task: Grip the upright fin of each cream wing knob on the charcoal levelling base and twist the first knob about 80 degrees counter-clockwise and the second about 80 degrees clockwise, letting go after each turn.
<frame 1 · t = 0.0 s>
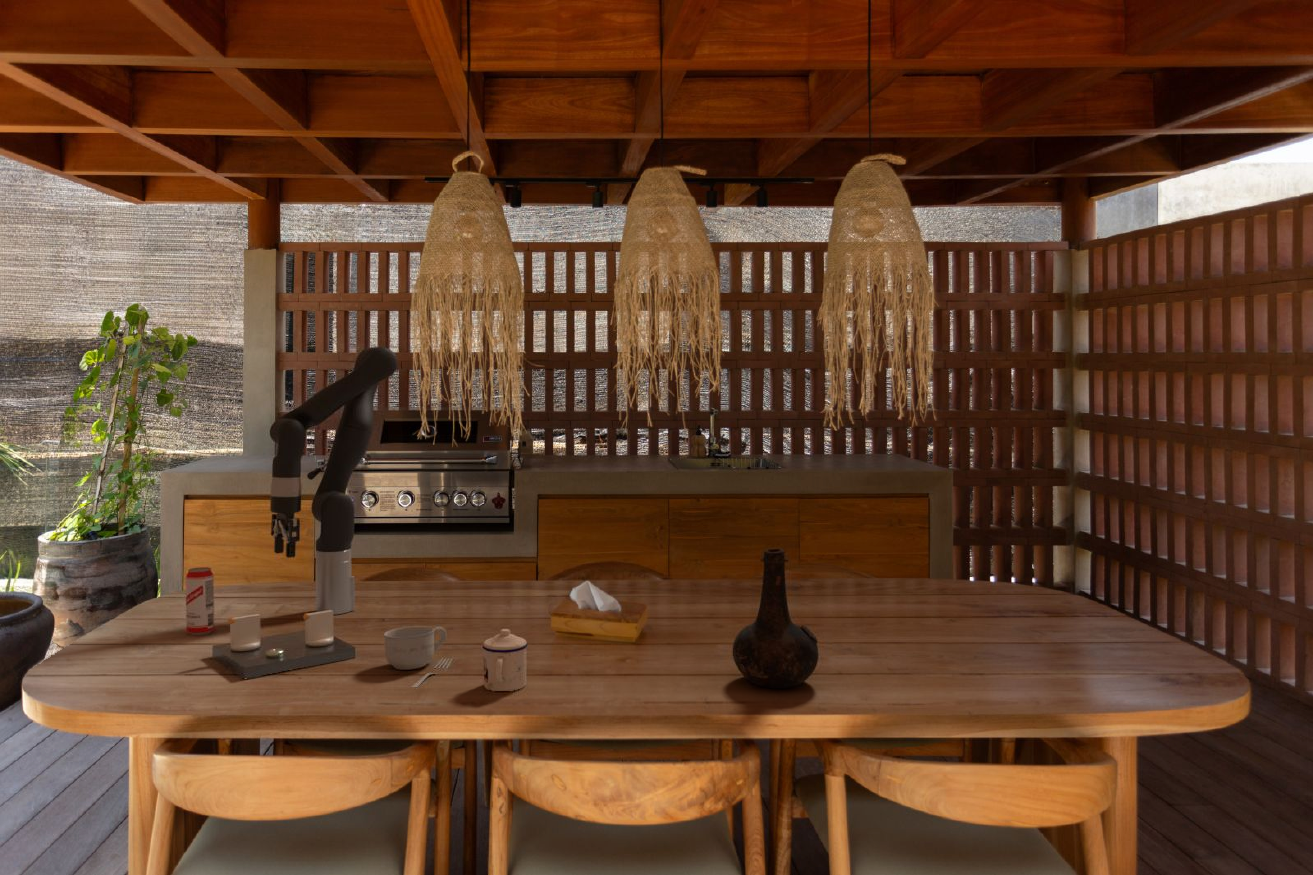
hand: (284, 555, 237), 17 cm above the table, tool pointing down, fingers open, 8 cm apart
levelling base: (283, 657, 203), on the table
glass bottle: (774, 683, 188), on the table
knob 1: (318, 627, 205), point 6 cm above the table, hinge at 0.0°
knob 2: (243, 631, 201), point 6 cm above the table, hinge at 0.0°
fork: (423, 683, 187), on the table
teacup with lid: (503, 689, 183), on the table
beer can: (200, 633, 224), on the table
teacup: (416, 666, 198), on the table
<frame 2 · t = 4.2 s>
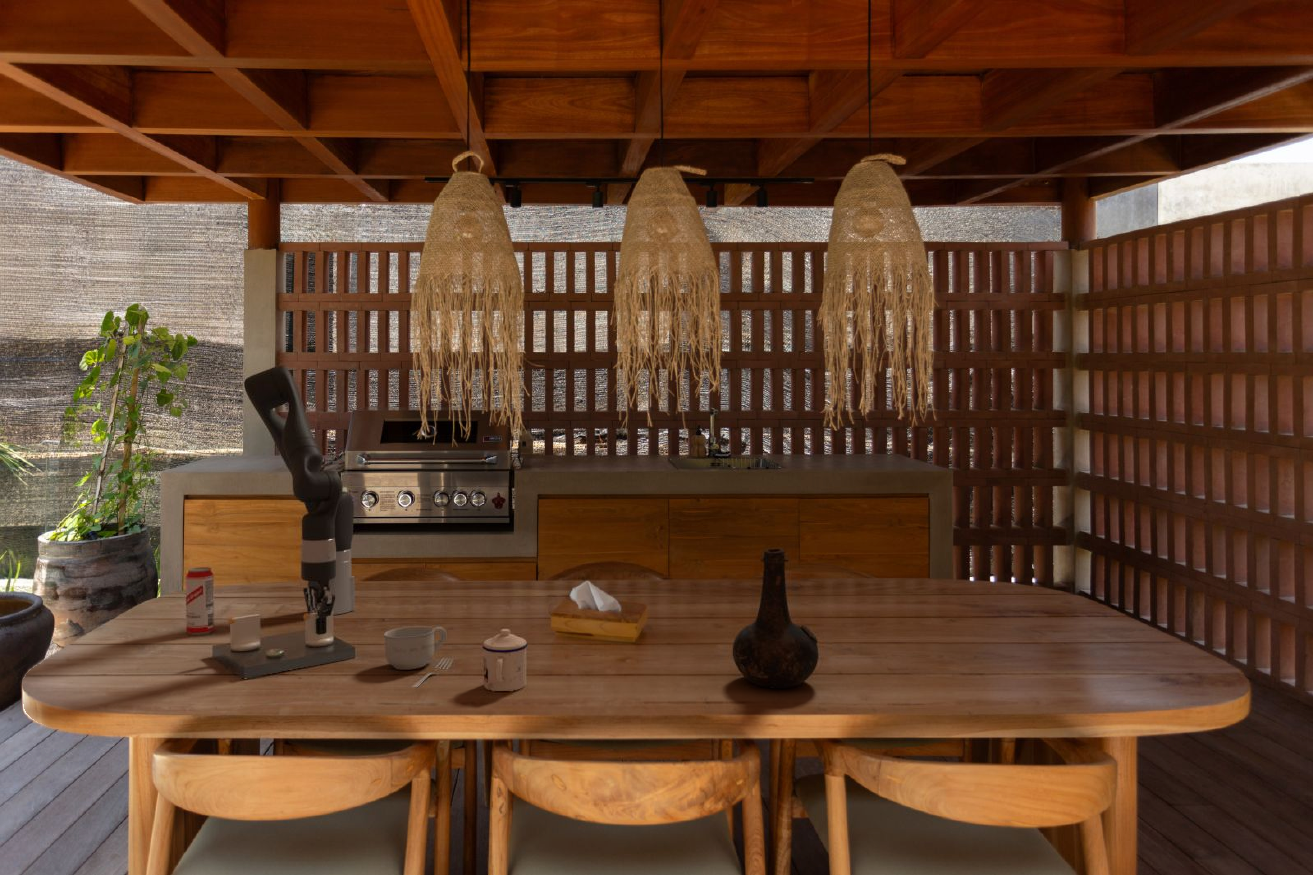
hand: (319, 632, 205), 5 cm above the table, tool pointing down, fingers closed
knob 1: (318, 627, 205), point 6 cm above the table, hinge at 0.0°, touching gripper
everything else where it was.
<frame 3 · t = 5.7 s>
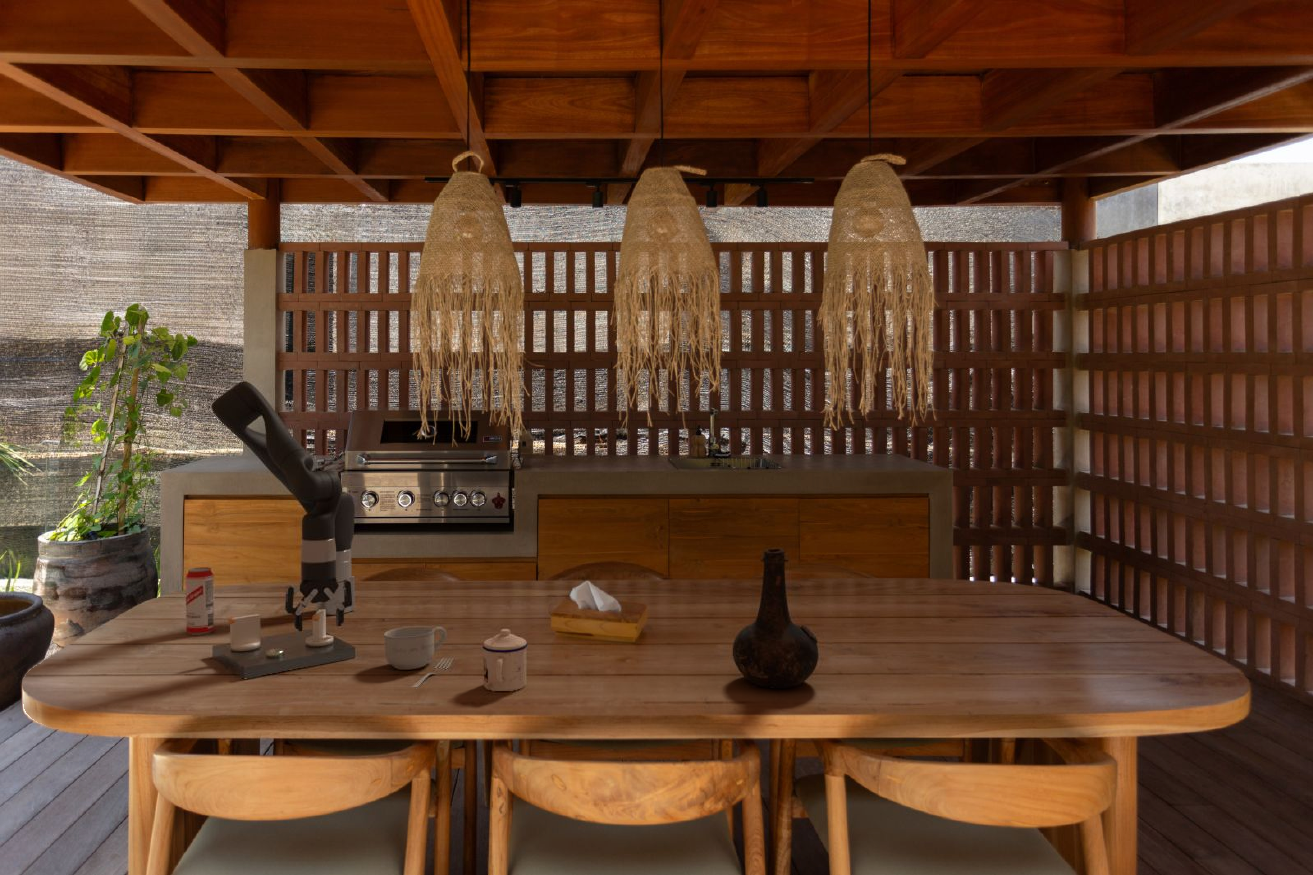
hand: (319, 628, 205), 6 cm above the table, tool pointing down, fingers open, 8 cm apart
knob 1: (319, 627, 205), point 6 cm above the table, hinge at 54.6°
everything else where it was.
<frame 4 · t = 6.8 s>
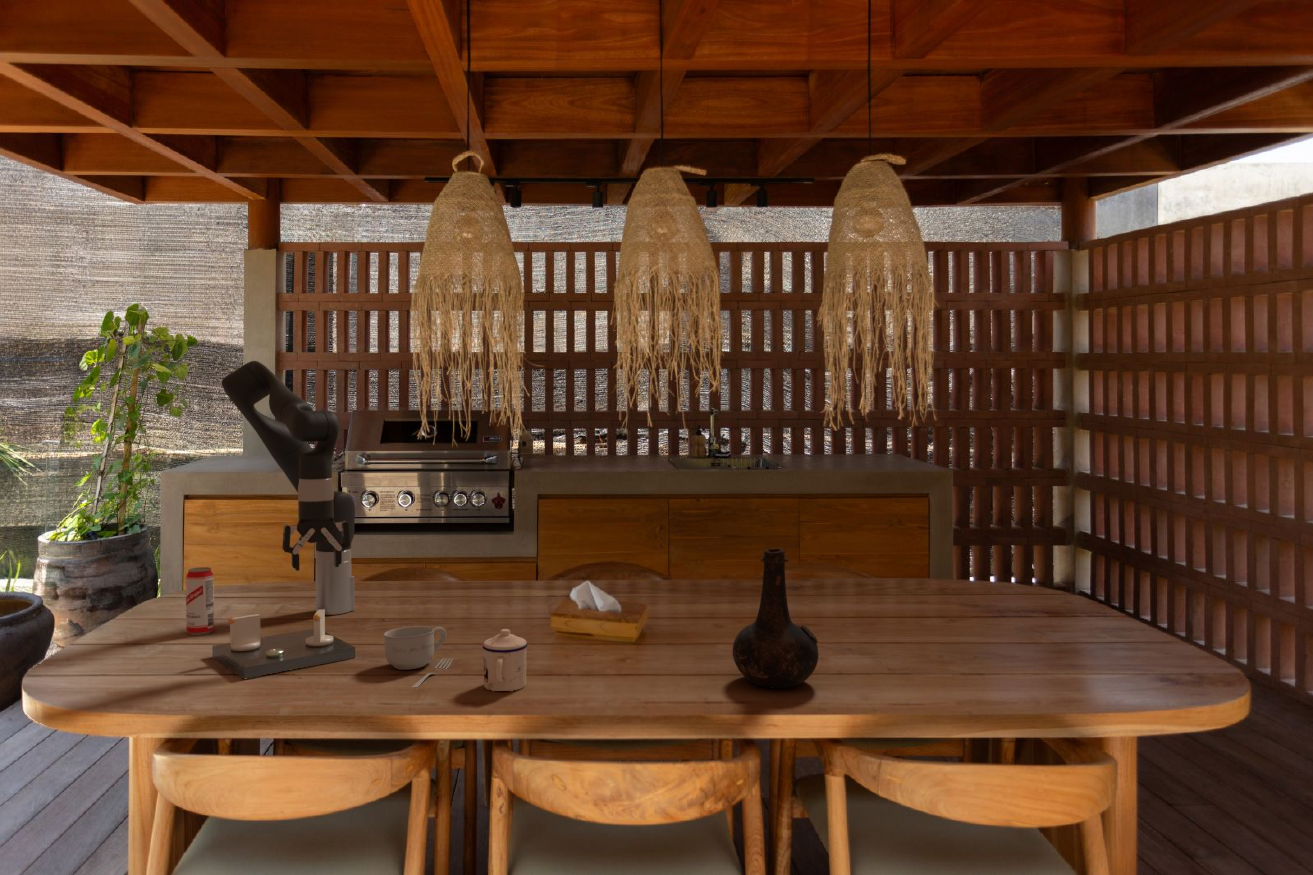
hand: (316, 568, 204), 20 cm above the table, tool pointing down, fingers open, 8 cm apart
knob 1: (319, 627, 205), point 6 cm above the table, hinge at 58.9°
everything else where it was.
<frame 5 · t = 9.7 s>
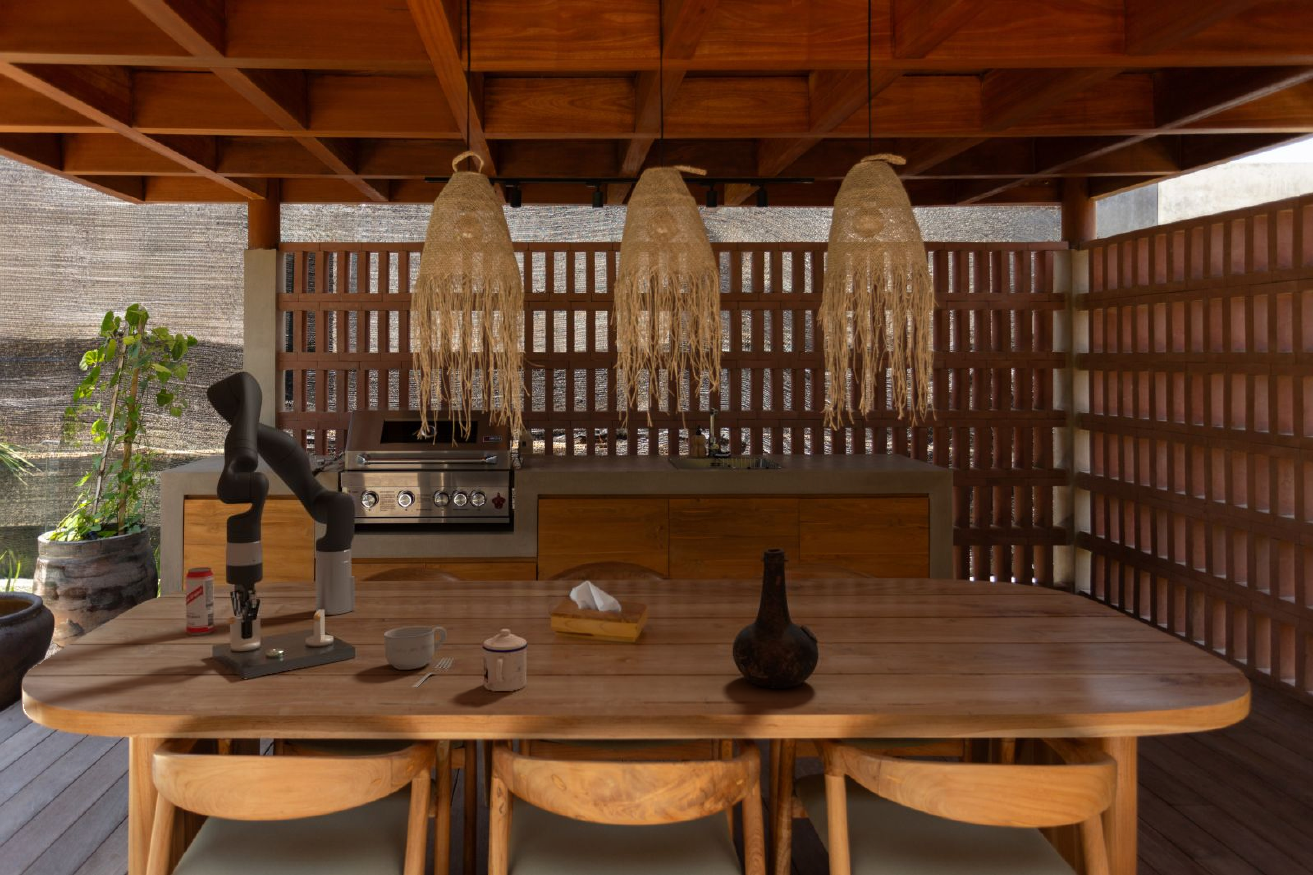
hand: (245, 637, 201), 5 cm above the table, tool pointing down, fingers closed
knob 1: (319, 627, 205), point 6 cm above the table, hinge at 59.9°
knob 2: (243, 631, 201), point 6 cm above the table, hinge at 0.0°, touching gripper
everything else where it was.
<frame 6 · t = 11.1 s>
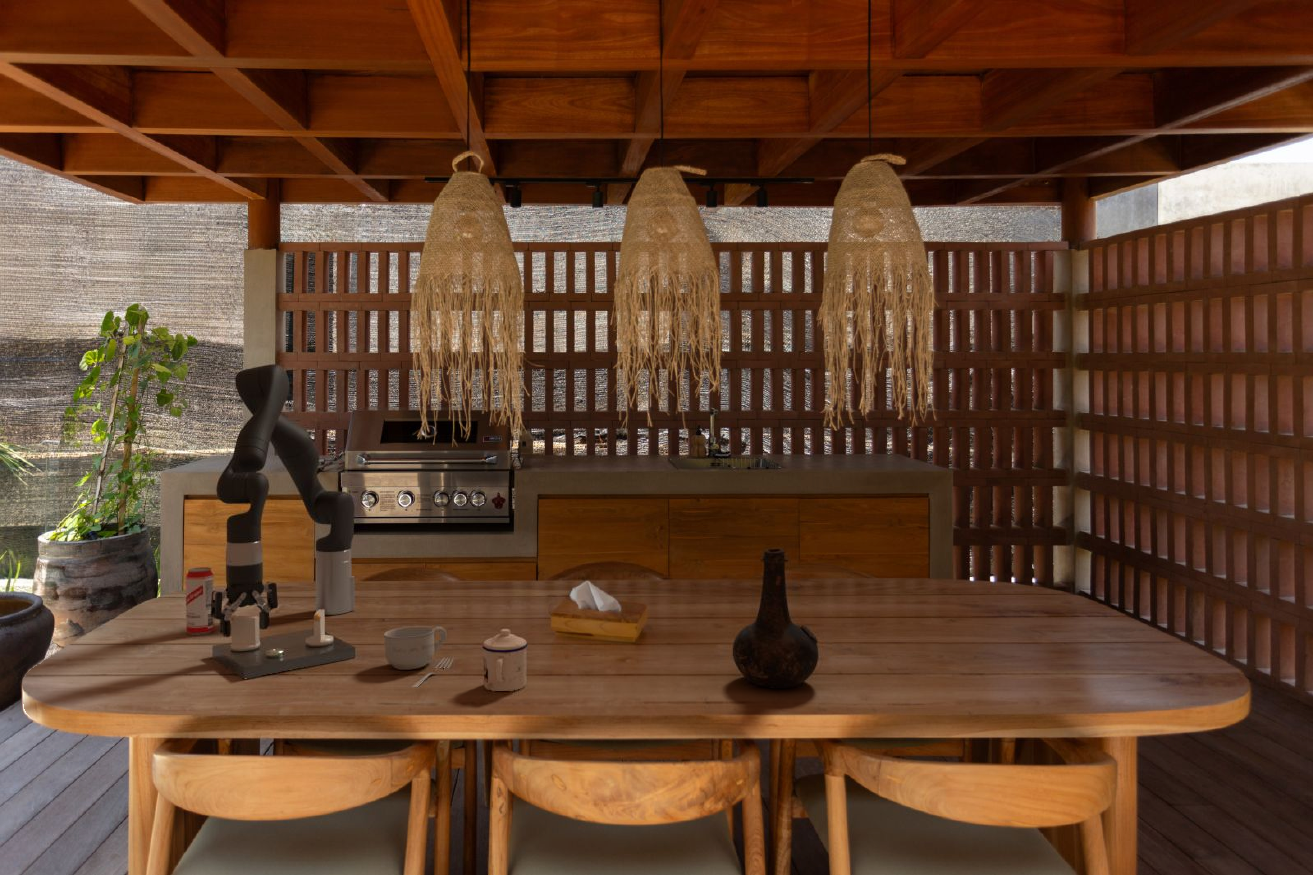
hand: (245, 632, 201), 6 cm above the table, tool pointing down, fingers open, 8 cm apart
knob 2: (244, 631, 201), point 6 cm above the table, hinge at -52.8°
everything else where it was.
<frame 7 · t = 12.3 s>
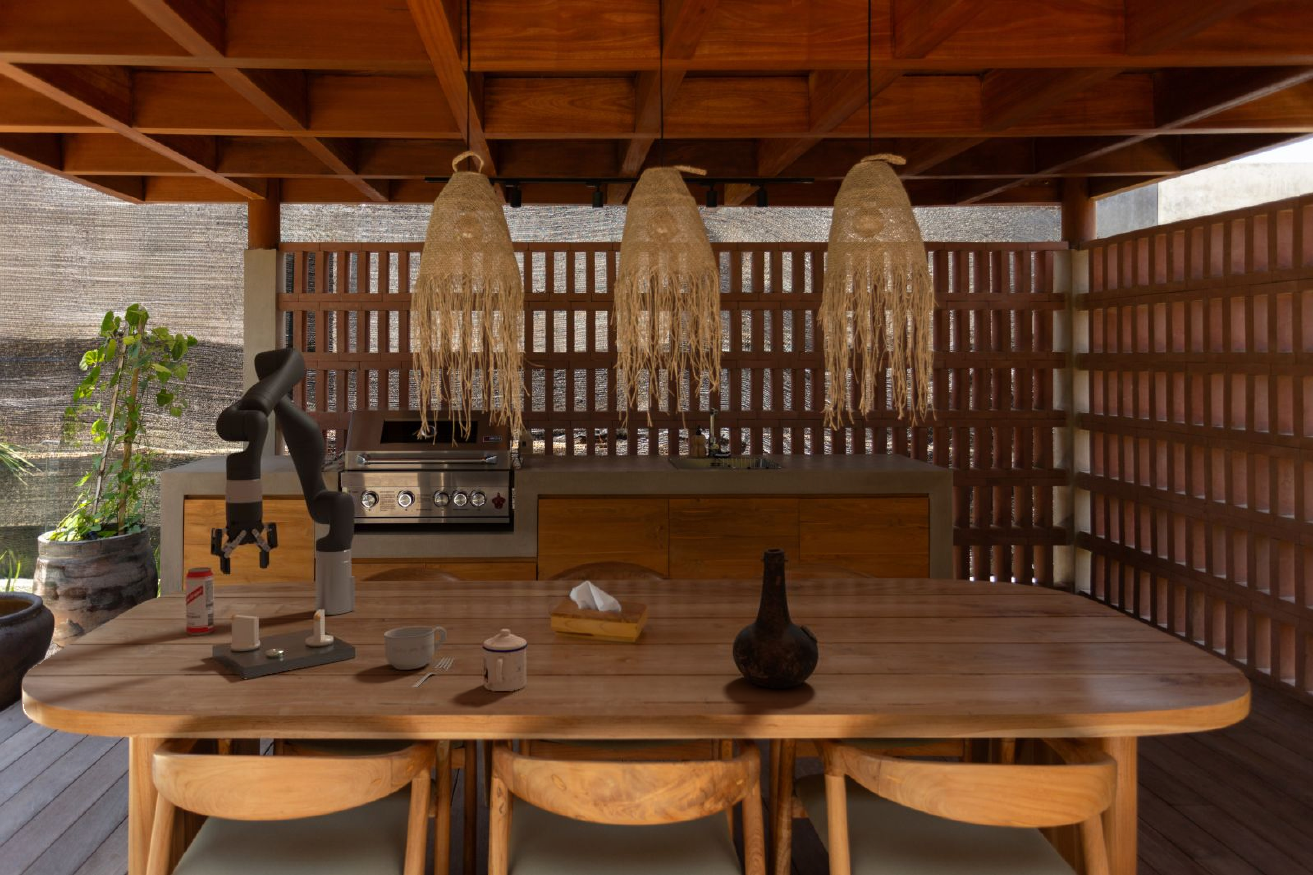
hand: (245, 571, 201), 20 cm above the table, tool pointing down, fingers open, 8 cm apart
knob 2: (244, 631, 201), point 6 cm above the table, hinge at -57.8°
everything else where it was.
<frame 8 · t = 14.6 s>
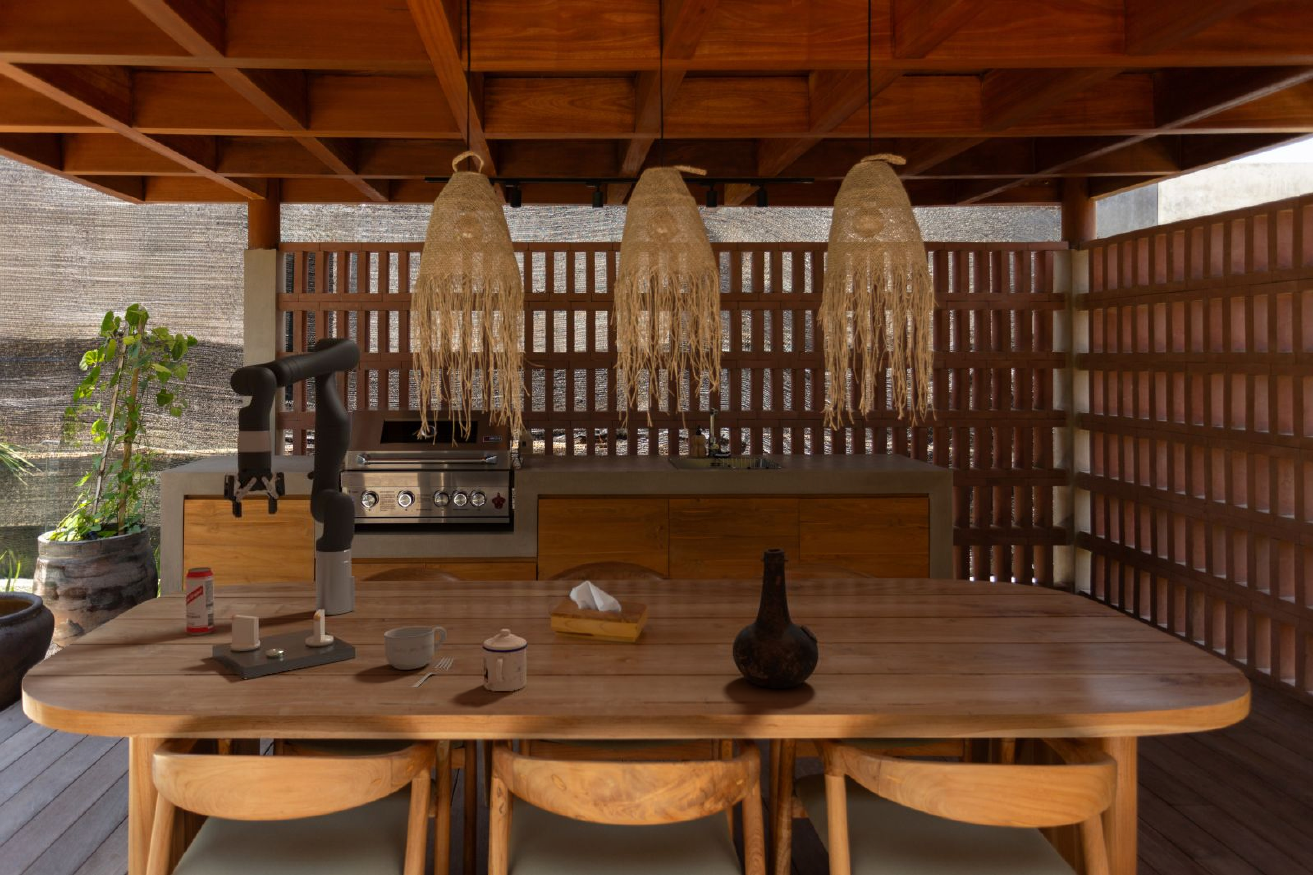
hand: (255, 515, 218), 30 cm above the table, tool pointing down, fingers open, 8 cm apart
knob 2: (244, 631, 201), point 6 cm above the table, hinge at -58.8°
everything else where it was.
at the end: knob 1 at +60° (first picture: +0°); knob 2 at -59° (first picture: +0°) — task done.
